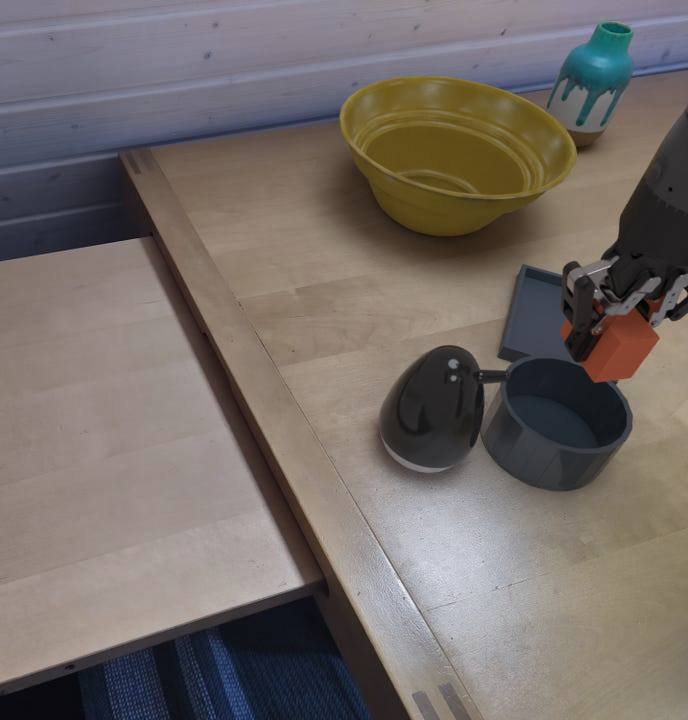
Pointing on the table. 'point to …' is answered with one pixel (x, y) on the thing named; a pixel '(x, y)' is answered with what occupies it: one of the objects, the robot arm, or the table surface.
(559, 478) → the crock
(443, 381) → the pump dispenser
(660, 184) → the robot arm
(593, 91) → the vase
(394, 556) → the table surface
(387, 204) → the planter bowl
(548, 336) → the tray
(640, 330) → the sponge
